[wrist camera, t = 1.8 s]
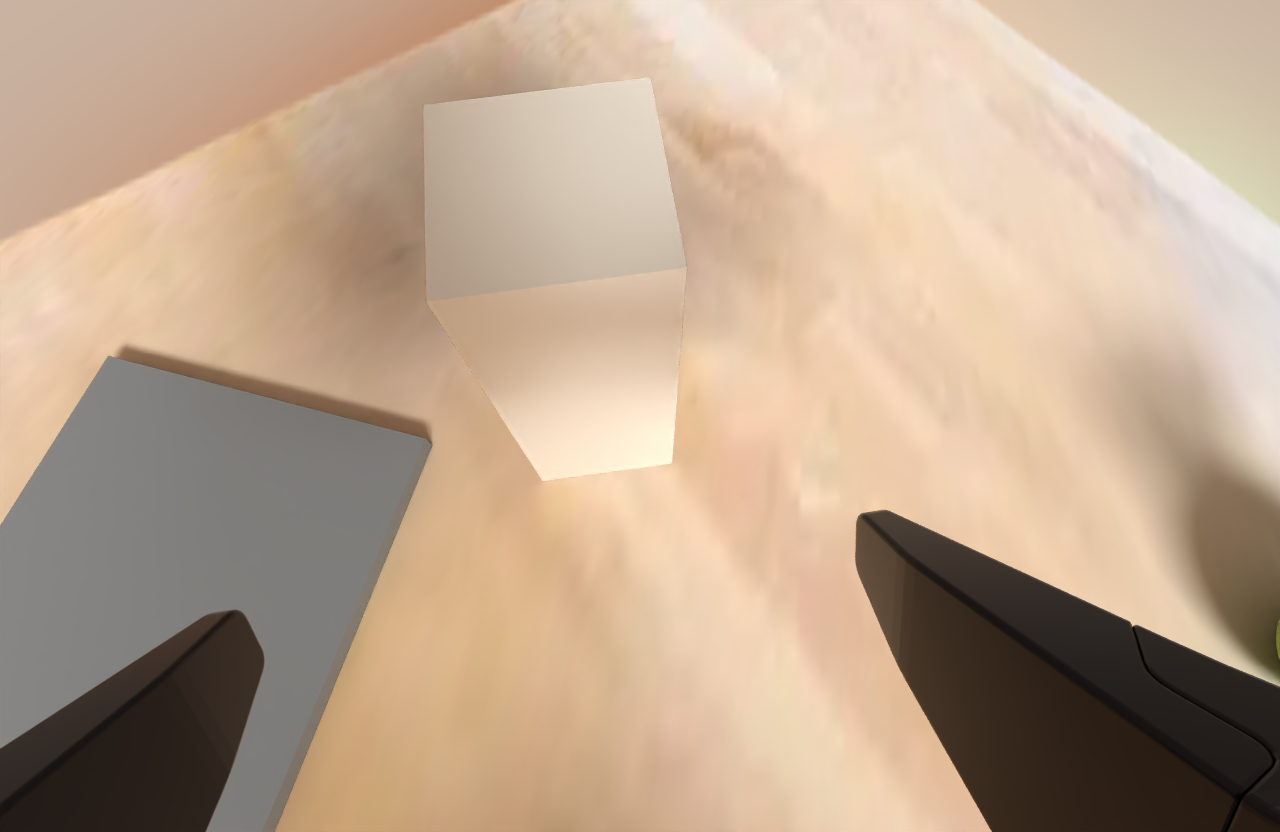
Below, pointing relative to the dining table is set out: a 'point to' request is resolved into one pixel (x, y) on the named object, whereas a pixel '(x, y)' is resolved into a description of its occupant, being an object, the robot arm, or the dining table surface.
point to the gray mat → (199, 554)
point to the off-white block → (560, 268)
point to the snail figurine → (1278, 638)
